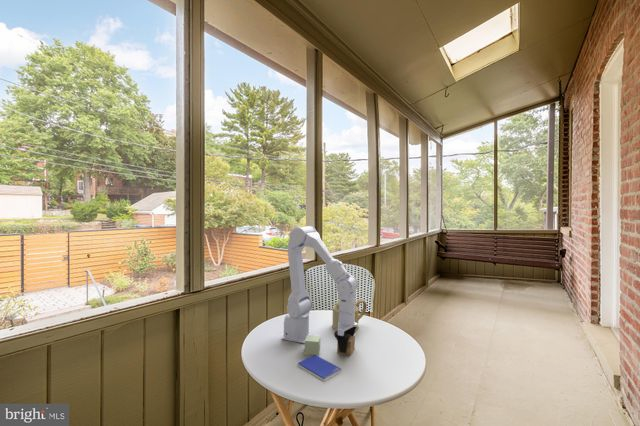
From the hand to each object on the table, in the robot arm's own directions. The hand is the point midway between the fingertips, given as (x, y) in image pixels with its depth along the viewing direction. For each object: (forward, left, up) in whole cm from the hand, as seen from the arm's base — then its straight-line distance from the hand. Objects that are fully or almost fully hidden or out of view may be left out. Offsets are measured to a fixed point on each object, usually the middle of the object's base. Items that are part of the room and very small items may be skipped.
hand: (346, 347), depth 116 cm
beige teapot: (-6, +22, -2) cm, 23 cm away
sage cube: (-11, -5, -2) cm, 12 cm away
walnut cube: (0, 0, -2) cm, 2 cm away
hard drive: (-5, -14, -2) cm, 15 cm away
